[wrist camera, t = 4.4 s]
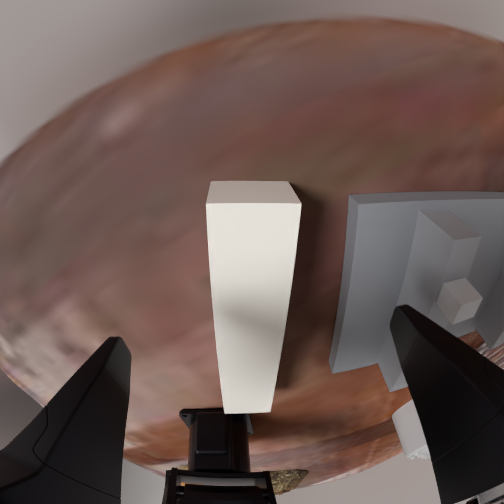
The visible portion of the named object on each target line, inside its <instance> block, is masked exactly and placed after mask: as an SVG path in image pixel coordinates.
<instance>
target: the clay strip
mask: <svg viewBox="0 0 504 504" xmlns="http://www.w3.org/2000/svg"><path fill="white" fill-rule="evenodd" d="M301 205H302V203H301V202H300V200H299V199H298V197H297V195H296V194H295V192H294V190H293V189H292V187H291V185H290V184H289V182H283V181H211V184H210V189H209V193H208V197H207V202H206V212H207V232H208V249H209V265H210V279H211V292H212V304H213V315H214V326H215V337H216V347H217V356H218V365H219V374H220V383H221V391H222V399H223V407H224V414H237V413H262V412H270V411H271V406H272V400H273V395H274V390H275V385H276V379H277V374H278V368H279V362H280V357H281V351H282V345H283V339H284V333H285V326H286V320H287V313H288V307H289V300H290V293H291V286H292V279H293V271H294V264H295V256H296V248H297V240H298V232H299V223H300V214H301Z"/></svg>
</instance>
